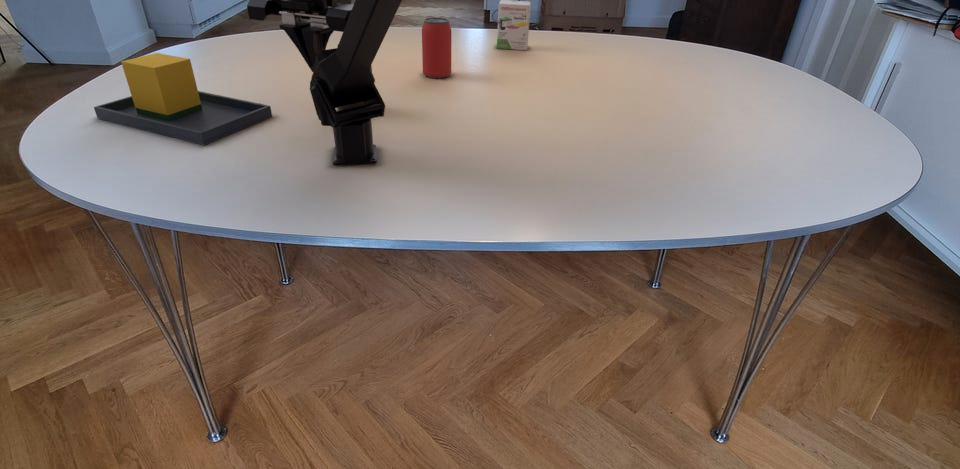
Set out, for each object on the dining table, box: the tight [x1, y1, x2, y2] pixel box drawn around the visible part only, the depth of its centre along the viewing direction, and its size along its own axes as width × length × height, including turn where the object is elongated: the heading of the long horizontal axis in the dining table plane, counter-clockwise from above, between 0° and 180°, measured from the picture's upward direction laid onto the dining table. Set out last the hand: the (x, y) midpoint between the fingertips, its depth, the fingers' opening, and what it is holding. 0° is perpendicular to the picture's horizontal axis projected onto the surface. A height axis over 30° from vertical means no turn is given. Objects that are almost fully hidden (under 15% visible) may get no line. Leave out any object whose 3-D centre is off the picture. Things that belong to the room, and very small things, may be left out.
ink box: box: [496, 0, 532, 51], centre depth 147 cm, size 8×5×12 cm, turn 84°
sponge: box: [120, 52, 202, 121], centre depth 95 cm, size 8×7×9 cm
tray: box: [93, 90, 273, 146], centre depth 96 cm, size 25×15×2 cm, turn 66°
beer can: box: [421, 17, 452, 79], centre depth 122 cm, size 7×7×12 cm
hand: (316, 72), depth 84 cm, fingers closed
